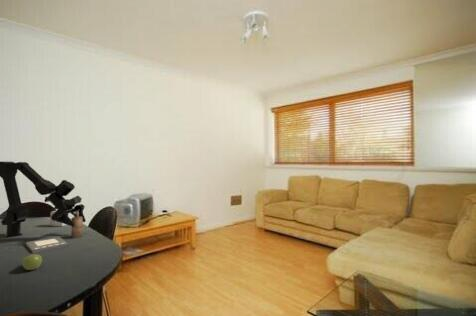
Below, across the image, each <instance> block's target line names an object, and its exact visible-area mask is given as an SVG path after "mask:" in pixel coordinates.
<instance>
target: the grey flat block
mask: <svg viewBox="0 0 476 316" xmlns="http://www.w3.org/2000/svg"><path fill="white" fill-rule="evenodd" d="M25 245H26V246H27V248H28V249H29V250H30V251H31V253H33V254H37V253H41V252H45V251H50V250H56V249H59V248H65V247H68V246H69V243H68V242H67V241H65V240H64V239H63V238H62V237H60V236H53V237H48V238H43V239H37V240H30V241H26V242H25Z"/></svg>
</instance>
